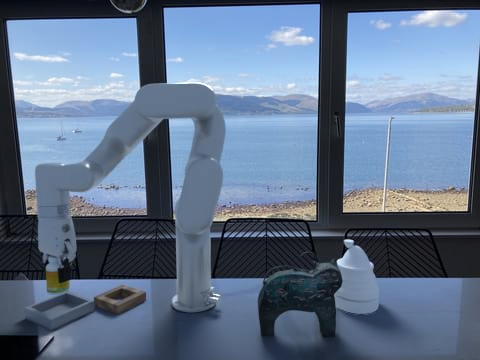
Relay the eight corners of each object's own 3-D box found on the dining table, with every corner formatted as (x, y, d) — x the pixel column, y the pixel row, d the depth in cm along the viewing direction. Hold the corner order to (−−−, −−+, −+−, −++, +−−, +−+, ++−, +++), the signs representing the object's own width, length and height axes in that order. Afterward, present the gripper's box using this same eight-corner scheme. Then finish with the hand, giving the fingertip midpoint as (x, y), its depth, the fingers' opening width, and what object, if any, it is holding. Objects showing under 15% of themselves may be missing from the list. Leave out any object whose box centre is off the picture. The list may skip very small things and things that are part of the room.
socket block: (146, 300, 103) (145, 291, 103) (118, 314, 94) (117, 305, 94) (122, 292, 108) (122, 284, 108) (94, 305, 100) (93, 297, 99)
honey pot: (327, 309, 97) (329, 245, 95) (333, 291, 109) (335, 233, 107) (378, 318, 92) (380, 250, 90) (378, 297, 104) (381, 237, 102)
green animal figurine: (337, 326, 88) (339, 248, 86) (345, 341, 82) (347, 256, 79) (257, 326, 88) (257, 248, 86) (258, 341, 82) (258, 257, 79)
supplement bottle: (60, 296, 91) (58, 259, 89) (42, 294, 92) (40, 257, 90) (74, 287, 96) (72, 253, 95) (56, 285, 97) (55, 251, 96)
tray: (94, 311, 96) (94, 300, 96) (51, 331, 86) (51, 319, 86) (68, 300, 103) (67, 290, 102) (25, 318, 93) (24, 307, 92)
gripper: (88, 212, 90) (91, 280, 92) (49, 205, 99) (53, 268, 101) (59, 217, 84) (63, 291, 86) (21, 210, 93) (25, 276, 95)
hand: (57, 278), depth 93 cm, fingers closed on supplement bottle, 5 cm apart
